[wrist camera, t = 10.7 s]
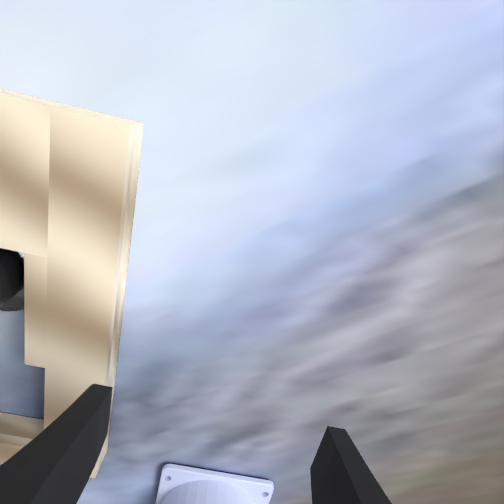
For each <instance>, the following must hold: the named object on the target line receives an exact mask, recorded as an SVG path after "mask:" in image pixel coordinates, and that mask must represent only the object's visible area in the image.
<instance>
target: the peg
mask: <svg viewBox="0 0 504 504" xmlns="http://www.w3.org/2000/svg"><path fill="white" fill-rule="evenodd" d="M23 309H24V253H22V252H17V251H13V250H8V249H3V248H0V310H1V311H18V310H23Z"/></svg>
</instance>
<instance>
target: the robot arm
mask: <svg viewBox="0 0 504 504" xmlns="http://www.w3.org/2000/svg"><path fill="white" fill-rule="evenodd" d="M112 389H113V387H110V386H104V385H99V384H92V385H90V386H89V387H88V388H87V389H86V390H85V391H84V392H83V393H82V394H81V395H80V396H79V397H78V398H77V399H76V400H75V401H74V402H73V403H72V404H71V405H70V406H69V407H68V408H67V409H66V410H65V411H64V412H63V413H62V414H61V415H60V416H59V417H58V418H56V419H55V420H54V421H53V422H52V423H51V424H50V425H49V426H48V427H46V428H45V429H44V430H43V431H42V432H41V433H40V434H39V435H37V436H36V437H35V438H34V439H33V440H32V441H30V442H29V443H28V444H27V445H25V446H24V447H23V448H22V449H21V450H19V451H18V452H17V453H16V454H14V455H13V456H12V457H11V458H10V459H8V460H7V461H6V462H4V463H3V464H2V465H0V504H76V503H77V501H78V499H79V497H80V495H81V493H82V491H83V489H84V487H85V485H86V483H87V481H88V479H89V477H90V475H91V473H92V471H93V469H94V467H95V465H96V462H97V460H98V457H99V455H100V452H101V450H102V447H103V444H104V442H105V439H106V436H107V434H108V425H109V416H110V407H111V398H112ZM310 470H311V490H312V503H313V504H392V503H391V502H390V501H389V499H388V498H387V496H386V494H385V493H384V491H383V490H382V488H381V487H380V485H379V484H378V482H377V481H376V479H375V477H374V476H373V474H372V473H371V471H370V469H369V468H368V466H367V465H366V463H365V461H364V460H363V458H362V456H361V455H360V453H359V451H358V450H357V448H356V446H355V445H354V443H353V442H352V440H351V438H350V437H349V435H348V433H347V432H346V430H345V429H340V428H335V427H329V426H327V429H326V431H325V434H324V436H323V439H322V441H321V444H320V446H319V449H318V451H317V453H316V456H315V458H314V461H313V463H312V466H311V468H310ZM273 490H274V485H273V482H271V481H269V480H264V479H258V478H252V477H247V476H241V475H235V474H229V473H223V472H217V471H211V470H205V469H199V468H193V467H187V466H181V465H175V464H166V465H164V466H163V468H162V473H161V478H160V483H159V488H158V493H157V498H156V503H155V504H269V501H270V499H271V496H272V493H273Z"/></svg>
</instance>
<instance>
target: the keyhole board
mask: <svg viewBox="0 0 504 504" xmlns="http://www.w3.org/2000/svg"><path fill="white" fill-rule="evenodd" d="M143 127H144V123H142V122H138V121H134V120H130V119H125V118H121V117H117V116H113V115H108V114H104V113H100V112H96V111H92V110H87V109H83V108H79V107H75V106H71V105H66V104H62V103H58V102H54V101H50V100H45V99H41V98H37V97H33V96H28V95H24V94H20V93H16V92H12V91H7V90H3V89H0V248H3V249H8V250H13V251H17V252H22V253H24V335H25V365H31V366H36V367H42V368H45V387H44V420H43V419H37V418H31V417H25V416H19V415H14V414H8V413H2V412H0V463H4V462H6V461H7V460H8V459H10V458H11V457H12V456H13V455H14V454H16V453H17V452H18V451H19V450H21V449H22V448H23V447H24V446H25V445H27V444H28V443H29V442H30V441H32V440H33V439H34V438H35V437H36V436H37V435H39V434H40V433H41V432H42V431H43V430H44V429H45V428H46V427H48V426H49V425H50V424H51V423H52V422H53V421H54V420H55V419H56V418H58V417H59V416H60V415H61V414H62V413H63V412H64V411H65V410H66V409H67V408H68V407H69V406H70V405H71V404H72V403H73V402H74V401H75V400H76V399H77V398H78V397H79V396H80V395H81V394H82V393H83V392H84V391H85V390H86V389H87V388H88V387H89V386H90V385H92V384H99V385H104V386H110V387H113V389H112V398H111V407H110V416H109V425H108V434H107V436H106V439H105V442H104V444H103V447H102V450H101V452H100V455H99V457H98V460H97V462H96V465H95V467H94V469H93V471H92V473H91V475H90V477H89V478H95V477H96V475H97V473H98V470H99V468H100V466H101V463H102V461H103V459H104V456H105V454H106V452H107V448H108V439H109V430H110V421H111V412H112V404H113V395H114V386H115V377H116V368H117V359H118V350H119V341H120V332H121V323H122V314H123V305H124V296H125V288H126V279H127V270H128V261H129V252H130V243H131V234H132V225H133V216H134V207H135V198H136V189H137V181H138V172H139V163H140V154H141V145H142V136H143Z"/></svg>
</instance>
